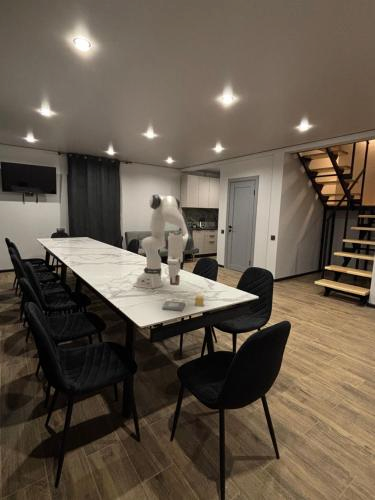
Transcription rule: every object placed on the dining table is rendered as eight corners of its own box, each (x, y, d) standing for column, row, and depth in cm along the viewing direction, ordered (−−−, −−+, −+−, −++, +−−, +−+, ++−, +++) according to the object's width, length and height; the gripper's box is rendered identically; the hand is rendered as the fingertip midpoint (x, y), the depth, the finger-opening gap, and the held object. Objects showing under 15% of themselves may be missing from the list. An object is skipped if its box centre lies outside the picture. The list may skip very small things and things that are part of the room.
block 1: (169, 284, 158) (170, 276, 158) (171, 282, 163) (171, 274, 163) (178, 285, 158) (178, 277, 157) (179, 283, 163) (179, 275, 162)
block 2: (194, 305, 166) (195, 297, 166) (195, 302, 171) (196, 295, 171) (202, 305, 166) (203, 298, 165) (203, 303, 171) (203, 295, 170)
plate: (162, 309, 157) (162, 307, 157) (166, 302, 169) (166, 300, 169) (182, 310, 156) (182, 308, 156) (184, 304, 168) (184, 302, 168)
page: (166, 301, 172) (166, 301, 171) (168, 298, 178) (168, 297, 178) (182, 302, 170) (182, 302, 170) (183, 299, 177) (183, 298, 177)
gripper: (173, 255, 169) (172, 277, 171) (166, 261, 149) (166, 285, 151) (182, 256, 169) (182, 277, 170) (177, 261, 148) (177, 285, 150)
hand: (174, 281), depth 160 cm, fingers closed on block 1, 5 cm apart
